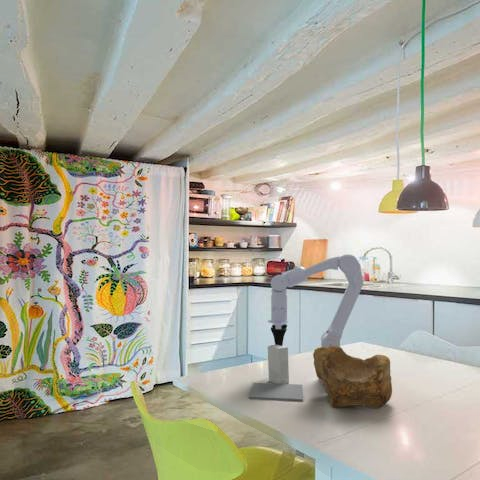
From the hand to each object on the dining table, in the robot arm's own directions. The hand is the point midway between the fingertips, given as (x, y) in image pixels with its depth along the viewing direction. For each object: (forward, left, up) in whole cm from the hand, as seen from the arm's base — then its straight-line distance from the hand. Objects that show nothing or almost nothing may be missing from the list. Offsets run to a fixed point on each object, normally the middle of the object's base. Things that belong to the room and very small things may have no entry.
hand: (279, 346), depth 147 cm
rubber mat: (0, +19, -10) cm, 21 cm away
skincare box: (0, +8, -11) cm, 13 cm away
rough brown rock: (-21, +25, -11) cm, 34 cm away
